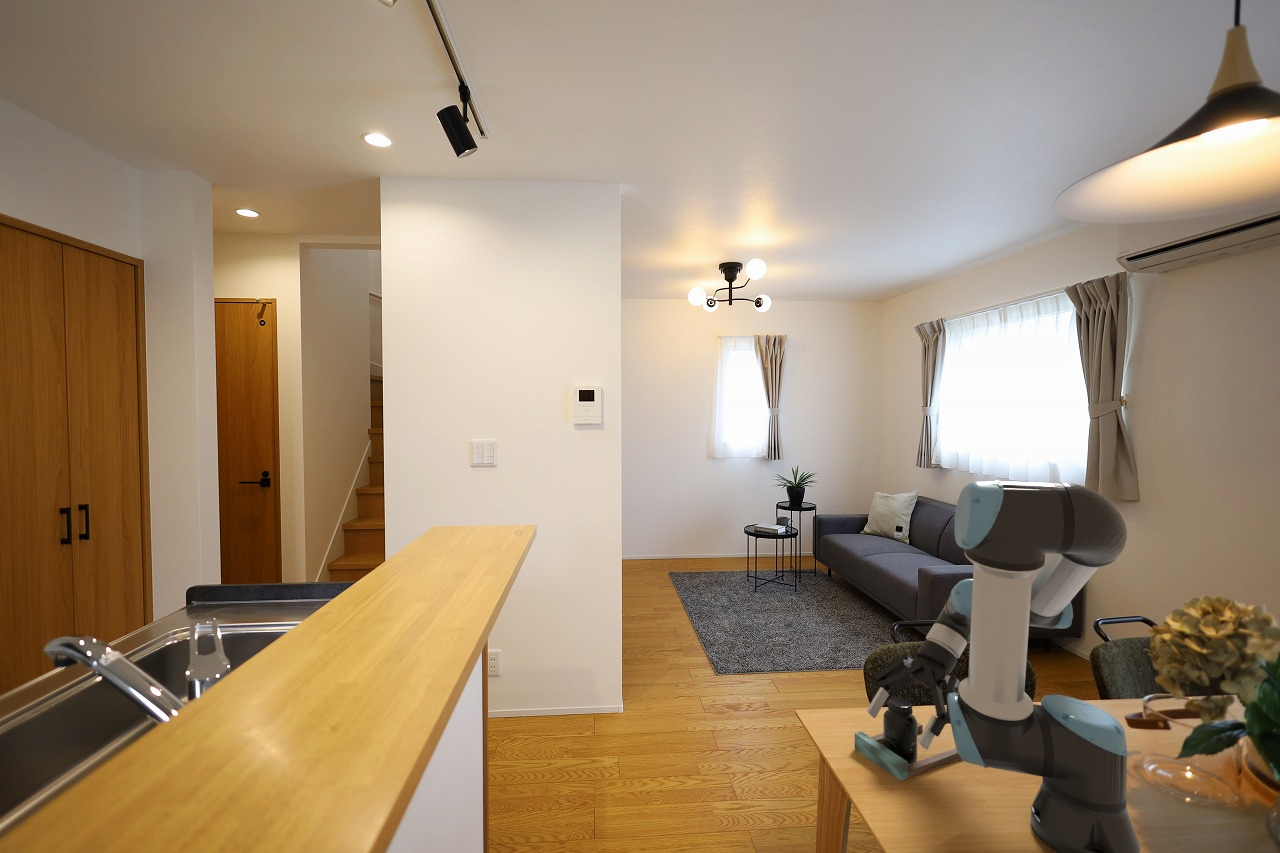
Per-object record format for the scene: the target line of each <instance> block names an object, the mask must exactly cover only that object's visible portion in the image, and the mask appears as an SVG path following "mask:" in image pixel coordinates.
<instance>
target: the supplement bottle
mask: <svg viewBox="0 0 1280 853" xmlns="http://www.w3.org/2000/svg"><path fill="white" fill-rule="evenodd" d="M887 703H888V705H887V708H888V709H887V710H885V711H884V714H883V720H882V721H883V726H882V727H883V728H882V729H883V731H882V732H883V746H884V747H886V748H887V749H889V750H890V751H892V752H894V753H895V754H897V755H898V756H900V757H901V758H903V759H904V760H906V761H907V762H908V765H909V764H912V763H915V762H917V761H918V742H917V741H918V733H917V722H918V720H917V718H916V716H915V715H914V714H913V713H914V712H913V711H914V710H913V703H912V702H911V701H909V700H908V699H906V698H903V697H897V696H893V697H890V698H889V699H888V701H887Z"/></svg>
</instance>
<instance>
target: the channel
mask: <svg viewBox="0 0 1280 853" xmlns="http://www.w3.org/2000/svg"><path fill="white" fill-rule="evenodd" d="M923 731H924V728H923V724H922V723H920V722H918V721H917V734H919V733H922V732H923ZM854 750H856V751H857V752H858V753H860V754H862V755H863V756H864V757H866V758H867V759H868V760H870V761H871V762H873V763H874V764H876V765H877V766H878V767H880V768H881V769H883V770H884V769H885V770H884V771H885V772H887V773H888V772H889V773H888V774H890V775H891V776H893V777H894V778H895V779H897V780H899V781H900V782H902V781H906V780H907V779H910V777H911V778H913V777H916V776H919V775H920V774H923V773H927V772H928V770H929V771H931V769H932V770H934V769H933V768H935V769H937V768H939V766H940V767H942V765H943V766H945V765H948V764H950V762H951V763H953V762H956V761H958V759H959V760H962V759H961V757H960V756H959V754H958V752H957V749H956V747H954V748H951V749H949V750H946V751H942V752H941V753H938V754H937V753H936V754H935V755H932V756H929V757H926V758H923V759H921V760H919V761H918V760H917V761H915V762H914V763H912V764H908V762H907V761H906V760H904V759H903V758H901V757H900V756H898V755H897V754H895V753H894V752H892V751H890V750H889V749H887V748H886V747H884V746H883V733H879V734H875V735H873V736H869V735H867V734H866V733H864V732H863V731H858V732H855V733H854ZM955 760H956V761H955ZM936 767H937V768H936ZM926 771H927V772H926Z"/></svg>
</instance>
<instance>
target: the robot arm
mask: <svg viewBox="0 0 1280 853" xmlns="http://www.w3.org/2000/svg"><path fill="white" fill-rule="evenodd" d="M953 523H954V539H955V542H956V544H957V546H958V547H960V548H962V549H963V552H964V556H965V557H966V559H967V560H968V561H969V562H970V563H972V564H973V573H972V575H973V576H972V578H966V579H963V580H960V581H958V583H957V584H955V586H954V587H952V590H951V591H950V593H949V597H948V599H947V600H946V602H945V605H944V606H943V608H942V609H941V612H940V614H939V616H937V618H936V621H935V622H934V624H933V625H932V627H931V628H930V630H929V632H928V633H927V635H926V637H925V639H926V640H923V642H922V644H921V645H920V647H919V648H918V650H917V654H916V657H915V658H914V659H913V658H911V657H910V656H908V654H907V653H903V654H901V655H900V657H899V658H898V659H897V660H896V661H895V662H893V663H891V664H890V665H889V666H888V667H886V668H884V669H883V670H881V671H880V672H879V673H877V674H876V675H874V676H873V680H874V682H875V683H876V684H877V687H876V688H875V690H874V692H873V694H872V697H871V698H872V701H871V702H870V704H869V705H868V707H867V708H866V710H865V711H866V712H867V714H868V715H870V717H872V718H873V719H876V718H877V716H878V714H879V713H880V711H881V709H882V708H883V706H884V704H885V702H886V701H887V699H888V697H890V696H889V695H890V694H889V691H891V690H894V689H897V688H899V687H901V686H904V685H907V684H909V683H916V682H917V684H919V685H921V686H924V687H925V688H926V689H930V690H931V694H932V695H931V696H932V699H933V703H934V708H935V712H936V713H935V715H934V714H932V715H931V716H930V718H929V719H928V721H927V724H926V725H925V727H924V728H923V732H921V734H920V736H919V737H918V739H917V744H919V745H920V746H921V747H922V748H923V749H925V751H928V749H929V748H930V745H931V744H932V743H933V740H934V738H935V737H936V738H937V737H939V736H940V735H941V733H942V731H943V729H944V728H945V726H946V725H949V724H950V726H951V731H952V732H951V733H952V735H953V736H952V737H953V740H954V745H955V748H956V749H957V752H958V754H959V756H960V757H961V759H960V760H963V761H964V762H965V763H967V764H970V765H975V766H979V767H983V768H985V769H988V768H991V769H995V770H996V769H998V770H1003V771H1008V772H1013V773H1019V774H1026V775H1030V776H1036V777H1042V781H1041V784H1040V786H1039V788H1038V791H1037V793H1036V795H1035V798H1034V800H1033V802H1032V804H1031V808H1030V824H1031V827H1032V828H1033V831H1034V832H1035V834H1036V836H1038V837H1039V838H1040V839H1041V840H1042V842H1044V843H1045V844H1046V845H1047V846H1048V847H1050V848H1051V849H1053V850H1054V851H1055V852H1057V853H1141V845H1140V842H1139V838H1138V836H1137V833H1136V831H1135V830H1136V829H1134V828H1135V827H1134V825H1133V823H1132V820H1131V818H1130V813H1129V812H1128V808H1127V796H1128V795H1127V794H1128V793H1127V787H1128V786H1127V785H1128V784H1127V783H1128V782H1127V780H1128V779H1127V778H1128V777H1127V776H1128V775H1127V773H1128V772H1127V770H1128V769H1127V762H1128V758H1127V757H1128V755H1129V750H1128V748H1127V747H1128V746H1127V736H1126V731H1125V729H1124V726H1123V725H1122V724H1121V723H1120V721H1119V720H1118V719H1117V718H1115V717H1114V716H1113V715H1112V714H1110V713H1109V712H1107V711H1105V710H1104V709H1102V708H1100V707H1097V706H1096V705H1094V704H1091V703H1089V702H1086V701H1085V700H1082V699H1078V698H1075V697H1072V696H1068V695H1062V694H1055V693H1054V694H1050V695H1049V694H1046V695H1044V696H1043V697H1042V699H1041V700H1040V703H1041V704H1035V703H1034V702H1033V699H1032V698H1031V697H1030V696H1029V695H1028V694H1027V693H1026V691H1025V686H1026V685H1025V684H1026V674H1027V673H1026V671H1027V658H1028V645H1029V644H1028V643H1029V642H1028V641H1029V631H1030V630H1029V627H1035V628H1036V627H1037V628H1045V629H1049V630H1051V629H1067V628H1069V627H1070V626H1071V625H1072V624H1073V623H1072V622H1073V621H1072V620H1073V619H1074V610H1073V605H1072V602H1071V601H1072V600H1073V599H1074V598H1075V597H1076V595H1077V594H1078V593H1079V591H1081V589H1082V588H1083V587H1084V586H1085V585H1086V583H1087V582H1088V581H1089V580H1090V578H1092V576H1093V575H1094V573H1096V571H1097V570H1098V569H1099V568H1104V567H1107V566H1109V565H1111V564H1113V563H1114V561H1116V560H1117V559H1118V557H1119V556H1120V555H1122V554H1121V553H1122V552H1123V550H1124V548H1125V546H1126V543H1127V540H1128V531H1127V526H1126V522H1125V520H1124V518H1123V515H1122V514H1121V513H1120V511H1119V509H1118V508H1117V507H1116V506H1115V505H1114V503H1113V502H1111V501H1110V500H1109V499H1108V498H1107V497H1105V496H1104V495H1103V494H1101V493H1100V492H1097V491H1096V490H1093V489H1092V488H1089V487H1086V486H1084V485H1081V484H1076V483H1073V482H1038V481H1036V482H1035V481H1032V482H1031V481H1006V480H1005V481H1001V480H999V479H998V480H997V479H993V480H991V481H990V480H989V481H986V480H985V481H980V480H979V481H971V482H969V483H967V484H966V485H965V486H964V487H963V489H962V490H961V491H960V493H959V497H958V499H957V502H956V507H955V512H954V522H953ZM968 643H969V654H968V655H969V658H968V674H967V675H968V677H965V678H964V679H962V680H961V681H960V680H959V679H958V678H957V676H956V675H954V674H952V675H949V674H951V673H952V672H953V670H954V669H955V667H956V664H957V663H958V660H957V659H959V658H960V657H961V655H962V653H963V652H964V650H965V648H966V646H967V645H968ZM942 684H946V704H945V702H944V701H945V700H944V697H943V689H942V686H941V685H942ZM945 705H946V706H945Z"/></svg>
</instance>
